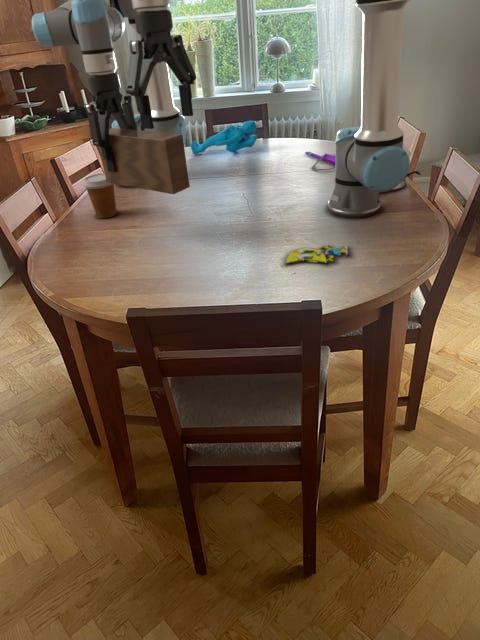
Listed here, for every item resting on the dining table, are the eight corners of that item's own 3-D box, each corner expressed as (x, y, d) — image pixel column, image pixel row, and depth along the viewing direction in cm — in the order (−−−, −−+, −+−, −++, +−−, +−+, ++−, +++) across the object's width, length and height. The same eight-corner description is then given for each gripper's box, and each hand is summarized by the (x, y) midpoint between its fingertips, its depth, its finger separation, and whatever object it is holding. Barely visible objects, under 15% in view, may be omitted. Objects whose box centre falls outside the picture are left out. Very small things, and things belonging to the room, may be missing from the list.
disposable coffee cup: (85, 218, 153) (75, 181, 146) (103, 208, 160) (94, 172, 154) (110, 221, 150) (101, 182, 143) (127, 210, 157) (119, 173, 150)
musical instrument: (342, 175, 173) (362, 153, 185) (341, 169, 172) (361, 148, 184) (283, 174, 186) (305, 153, 198) (282, 169, 184) (305, 148, 196)
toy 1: (195, 134, 218) (257, 114, 208) (203, 157, 223) (264, 139, 213) (184, 143, 204) (250, 123, 194) (193, 168, 209) (257, 149, 199)
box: (106, 182, 132) (95, 133, 125) (123, 175, 136) (112, 127, 129) (173, 194, 119) (164, 140, 112) (189, 187, 123) (182, 134, 115)
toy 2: (349, 261, 112) (285, 261, 114) (349, 264, 113) (285, 265, 115) (347, 243, 120) (287, 244, 123) (346, 246, 121) (287, 247, 123)
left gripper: (80, 79, 109) (104, 179, 122) (141, 67, 121) (157, 159, 134) (60, 78, 113) (85, 176, 126) (121, 67, 125) (138, 157, 138)
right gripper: (120, 12, 86) (142, 135, 98) (204, 5, 103) (214, 111, 115) (92, 15, 90) (116, 133, 102) (177, 8, 107) (190, 110, 118)
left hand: (122, 167), depth 130 cm, fingers closed on box, 6 cm apart
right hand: (168, 121), depth 108 cm, fingers open, 13 cm apart
